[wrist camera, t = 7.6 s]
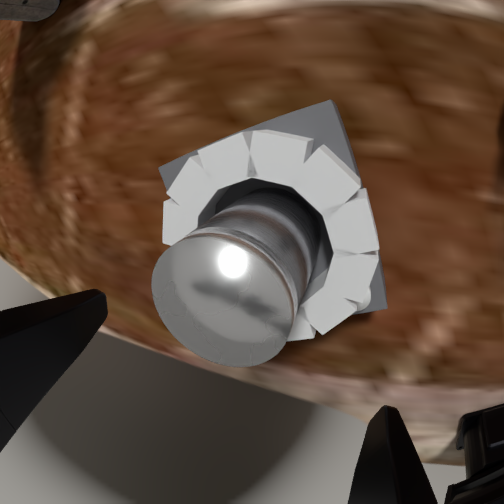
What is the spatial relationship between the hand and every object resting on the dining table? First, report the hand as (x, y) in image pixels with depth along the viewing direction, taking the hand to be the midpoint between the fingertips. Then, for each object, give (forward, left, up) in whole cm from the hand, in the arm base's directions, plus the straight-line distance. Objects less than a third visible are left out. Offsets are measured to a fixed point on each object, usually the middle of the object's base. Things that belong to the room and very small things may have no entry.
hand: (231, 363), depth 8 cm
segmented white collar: (+1, +1, -12) cm, 12 cm away
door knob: (+1, +1, -9) cm, 9 cm away
